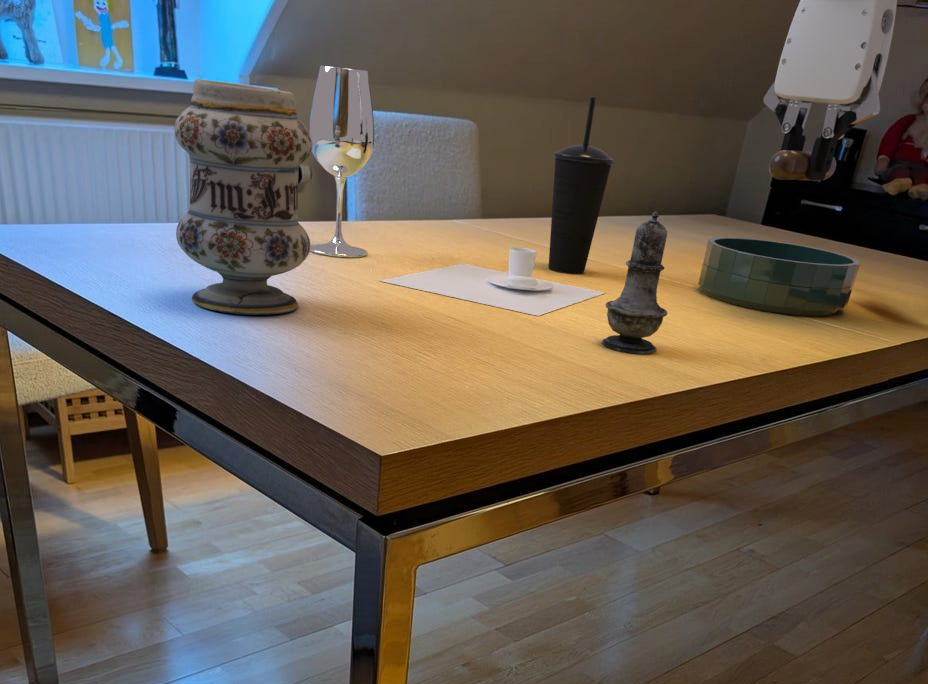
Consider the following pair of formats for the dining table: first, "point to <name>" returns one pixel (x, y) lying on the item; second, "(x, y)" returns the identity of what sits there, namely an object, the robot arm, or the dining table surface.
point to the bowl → (777, 276)
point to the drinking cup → (577, 201)
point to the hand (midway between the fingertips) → (800, 175)
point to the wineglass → (341, 138)
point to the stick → (793, 165)
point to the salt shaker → (639, 293)
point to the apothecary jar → (243, 193)
